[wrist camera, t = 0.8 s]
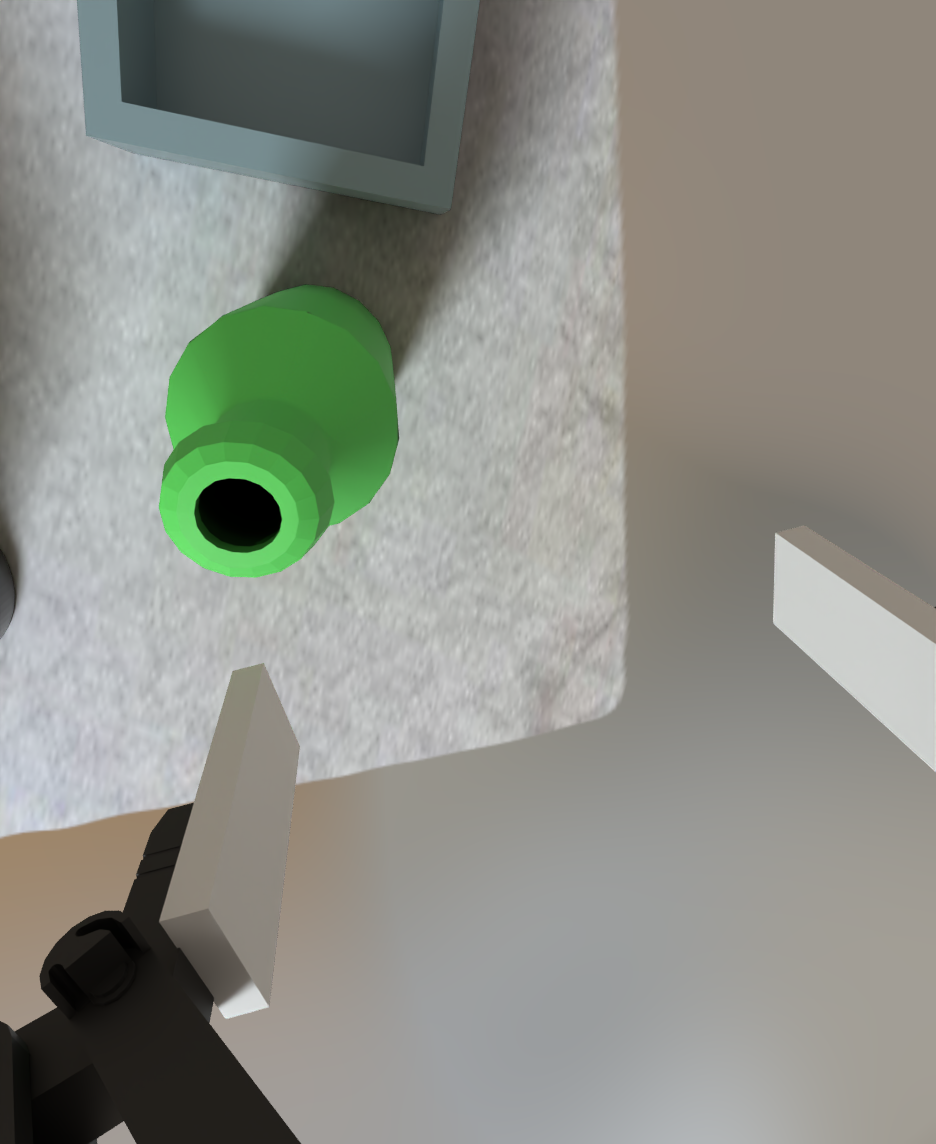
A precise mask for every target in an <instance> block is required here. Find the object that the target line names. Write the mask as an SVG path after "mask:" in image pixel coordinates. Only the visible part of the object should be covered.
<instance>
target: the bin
mask: <svg viewBox="0 0 936 1144" xmlns="http://www.w3.org/2000/svg"><path fill="white" fill-rule="evenodd" d="M479 3H480V0H77V8H78V23H79V37H80V52H81V67H82V81H83V96H84V111H85V125H86V136H89V137H91V138H94V139H97V140H99V141H102V142H105V143H107V144H110V145H113V146H115V147H118V148H121V149H123V150H126V151H129V152H131V153H135V154H140V155H145V156H150V157H155V158H160V159H165V160H170V161H175V162H180V163H185V164H190V165H195V166H200V167H205V168H210V169H215V170H220V171H225V172H230V173H235V174H240V175H245V176H250V177H255V178H260V179H265V180H270V181H275V182H280V183H285V184H290V185H295V186H300V187H305V188H310V189H315V190H320V191H325V192H330V193H335V194H340V195H345V196H350V197H355V198H360V199H365V200H370V201H375V202H380V203H385V204H390V205H395V206H400V207H405V208H410V209H415V210H420V211H425V212H430V213H435V214H440V215H441V214H443V213H445V212H447V211H449V210H451V205H452V198H453V190H454V183H455V176H456V169H457V162H458V154H459V147H460V140H461V133H462V126H463V119H464V111H465V104H466V97H467V90H468V83H469V75H470V68H471V61H472V54H473V47H474V39H475V32H476V25H477V18H478V11H479Z"/></svg>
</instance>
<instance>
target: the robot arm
mask: <svg viewBox="0 0 936 1144" xmlns="http://www.w3.org/2000/svg"><path fill="white" fill-rule="evenodd" d="M774 573H775V574H774V612H773V613H774V614H773V623H774V624H775V625H776V626H777V627H778V628H779V629H780V630H781V631H782V632H783V633H784V634H786V635H787V636H788V637H789V638H790V639H791V640H792V641H793V642H794V643H795V644H796V645H798V646H799V647H800V648H801V649H802V650H803V651H804V652H805V653H806V654H807V655H808V656H810V657H811V658H812V659H813V660H814V661H815V662H816V663H817V664H818V665H819V666H821V667H822V668H823V669H824V670H825V671H826V672H827V673H828V674H829V675H830V676H831V677H833V678H834V679H835V680H836V681H837V682H838V683H839V684H840V685H841V686H842V687H843V688H844V689H846V690H847V691H848V692H849V693H850V694H851V695H852V696H853V697H854V698H855V699H856V700H858V701H859V702H860V703H861V704H862V705H863V706H864V707H865V708H866V709H867V710H869V711H870V712H871V713H872V714H873V715H874V716H875V717H876V718H877V719H878V720H879V721H881V722H882V723H883V724H884V725H885V726H886V727H887V728H888V729H889V730H890V731H891V732H893V733H894V734H895V735H896V736H897V737H898V738H899V739H900V740H901V741H902V742H903V743H905V744H906V745H907V746H908V747H909V748H910V749H911V750H912V751H913V752H914V753H916V754H917V755H918V756H919V757H920V758H921V759H922V760H923V761H924V762H925V763H926V764H927V765H929V766H930V767H931V768H932V769H933V770H934V771H935V772H936V607H932V606H931V605H929V604H928V603H926V602H924V601H923V600H921V599H919V598H918V597H917V596H915V595H913V594H912V593H910V592H908V591H907V590H905V589H904V588H902V587H901V586H899V585H898V584H896V583H894V582H893V581H891V580H889V579H888V578H886V577H885V576H883V575H882V574H880V573H879V572H877V571H875V570H874V569H872V568H871V567H869V566H867V565H866V564H864V563H863V562H861V561H860V560H858V559H856V558H855V557H853V556H852V555H850V554H849V553H847V552H845V551H844V550H842V549H841V548H839V547H837V546H836V545H834V544H832V543H831V542H830V541H828V540H826V539H825V538H823V537H822V536H820V535H819V534H817V533H815V532H814V531H812V530H811V529H809V528H807V527H806V526H800V527H797V528H793V529H789V530H785V531H781V532H777V533H775V572H774ZM13 609H14V585H13V579H12V576H11V572H10V569H9V566H8V564H7V561H6V559H5V557H4V555H3V553H2V551H1V549H0V639H1V638H2V636H3V635H4V633H5V631H6V630H7V628H8V626H9V623H10V621H11V618H12V614H13ZM299 749H300V746H299V744H298V741H297V739H296V737H295V734H294V732H293V730H292V727H291V725H290V723H289V720H288V718H287V716H286V714H285V711H284V709H283V707H282V704H281V702H280V700H279V697H278V695H277V693H276V690H275V688H274V686H273V684H272V681H271V679H270V677H269V674H268V672H267V670H266V667H265V665H264V663H263V664H259V665H255V666H251V667H247V668H243V669H239V670H235V671H233V672H232V675H231V679H230V682H229V686H228V689H227V692H226V696H225V699H224V703H223V706H222V709H221V713H220V716H219V720H218V723H217V726H216V730H215V733H214V737H213V740H212V743H211V747H210V750H209V754H208V757H207V760H206V764H205V767H204V771H203V774H202V777H201V781H200V784H199V788H198V791H197V794H196V798H195V801H194V803H191V804H187V805H183V806H180V807H176V808H172V809H169V810H168V811H167V812H166V813H165V815H164V816H163V817H162V818H161V820H160V821H159V823H158V824H157V825H156V827H155V828H154V829H153V830H152V832H151V834H150V837H149V840H148V842H147V845H146V848H145V851H144V854H143V860H141V862H140V865H139V868H138V871H137V874H136V876H137V879H135V880H134V883H133V885H132V888H131V891H130V893H129V896H128V899H127V902H126V905H125V908H124V910H123V913H122V912H121V911H104V912H101V913H98V914H95V915H93V916H90V917H88V918H86V919H85V920H83V921H82V922H80V923H79V924H77V925H76V926H74V927H72V928H71V929H70V930H69V931H68V932H67V933H66V934H65V935H64V936H63V937H62V938H61V939H60V940H59V941H58V942H57V943H56V944H55V946H54V947H53V949H52V950H51V951H50V953H49V954H48V956H47V957H46V959H45V961H44V964H43V967H42V970H41V973H40V983H41V989H42V990H43V991H44V993H45V994H46V995H47V996H48V997H49V998H50V999H51V1000H52V1002H53V1003H54V1004H55V1005H56V1006H57V1008H55V1009H54V1010H52V1011H50V1012H49V1013H47V1014H45V1015H43V1016H41V1017H40V1018H38V1019H36V1020H34V1021H32V1022H31V1023H29V1024H27V1025H25V1026H24V1027H22V1028H20V1029H18V1030H17V1031H15V1032H14V1031H13V1030H12V1029H11V1028H10V1027H9V1026H8V1025H7V1024H5V1023H3V1022H1V1021H0V1144H97V1138H98V1137H99V1136H101V1135H103V1134H104V1133H106V1132H107V1131H109V1130H111V1129H112V1128H114V1127H115V1126H117V1125H118V1124H120V1123H121V1122H123V1121H124V1122H125V1123H126V1125H127V1127H128V1129H129V1130H130V1133H131V1134H132V1136H133V1138H134V1140H135V1142H136V1143H137V1144H301V1143H300V1142H299V1141H298V1140H297V1138H296V1137H295V1135H294V1134H293V1133H292V1131H291V1130H290V1129H289V1127H288V1126H287V1125H286V1123H285V1122H284V1121H283V1119H282V1118H281V1117H280V1116H279V1114H278V1113H277V1112H276V1110H275V1109H274V1108H273V1106H272V1105H271V1104H270V1103H269V1101H268V1100H267V1098H266V1097H265V1096H264V1095H263V1093H262V1092H261V1091H260V1089H259V1088H258V1087H257V1085H256V1084H255V1083H254V1082H253V1080H252V1079H251V1077H250V1076H249V1075H248V1074H247V1072H246V1071H245V1070H244V1068H243V1067H242V1066H241V1064H240V1063H239V1062H238V1060H237V1059H236V1058H235V1057H234V1055H233V1054H232V1053H231V1051H230V1050H229V1049H228V1047H227V1046H226V1045H225V1043H224V1042H223V1041H222V1040H221V1038H220V1037H219V1036H218V1034H217V1033H216V1032H215V1030H214V1029H213V1028H212V1026H211V1025H210V1024H209V1022H210V1017H211V1012H212V1006H213V1001H214V1002H215V1004H216V1005H217V1007H218V1008H219V1010H220V1011H221V1013H222V1014H223V1016H224V1017H225V1018H226V1019H228V1018H231V1017H235V1016H239V1015H242V1014H246V1013H249V1012H253V1011H257V1010H260V1009H264V1008H268V1007H269V1005H270V996H271V988H272V979H273V971H274V962H275V954H276V945H277V936H278V928H279V919H280V910H281V902H282V894H283V885H284V876H285V867H286V860H287V851H288V843H289V834H290V825H291V817H292V809H293V800H294V791H295V783H296V774H297V766H298V757H299Z"/></svg>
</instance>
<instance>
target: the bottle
mask: <svg viewBox="0 0 936 1144" xmlns="http://www.w3.org/2000/svg"><path fill="white" fill-rule="evenodd" d="M165 419H166V422H167V426H168V430H169V434H170V437H171V441H172V445H173V449H174V450H173V452H172V453H171V455H170V456H169V458H168V460H167V461H166V463H165V464H164V471H163V479H162V486H161V494H160V502H159V510H160V513H161V517H162V520H163V524H164V528H165V531H166V533H167V534H168V535H169V537H170V538H171V539H172V541H173V542H174V543H175V545H176V546H177V547H178V549H179V550H180V551H181V553H183V554H184V555H186V556H187V557H189V558H190V559H192V560H193V561H194V562H196V563H197V564H199V565H200V566H202V567H203V568H205V569H208V570H211V571H214V572H218V573H221V574H224V575H227V576H230V577H260V576H264V575H268V574H272V573H277V572H281V571H282V570H284V569H285V568H287V567H289V566H290V565H292V564H293V563H295V562H297V561H298V560H300V559H301V558H302V557H303V556H304V555H305V554H306V553H307V552H308V551H309V550H310V549H311V548H312V547H313V546H314V545H315V543H316V542H317V541H318V540H319V538H320V537H321V536H322V534H323V533H324V532H325V530H326V529H327V528H328V526H330V525H334V524H338V523H340V522H342V521H343V520H345V519H346V518H348V517H349V516H351V515H352V514H354V513H355V512H357V511H358V510H360V509H361V508H363V507H364V506H366V505H367V504H368V503H370V501H371V500H372V498H373V497H374V495H375V494H376V493H377V491H378V490H379V488H380V487H381V486H382V484H383V483H384V481H385V480H386V479H387V477H388V476H389V474H390V471H391V468H392V464H393V460H394V456H395V452H396V448H397V445H398V441H399V430H398V418H397V404H396V393H395V383H394V373H393V364H392V355H391V347H390V345H389V343H388V341H387V338H386V336H385V334H384V332H383V330H382V328H381V325H380V323H379V321H378V320H377V319H376V318H375V317H374V316H373V315H372V314H371V313H370V312H369V311H368V310H367V309H366V308H365V307H364V306H363V305H362V303H361V302H360V301H358V300H356V299H354V298H352V297H350V296H349V295H347V294H345V293H343V292H341V291H339V290H337V289H335V288H331V287H323V286H315V285H307V284H306V285H302V286H298V287H294V288H290V289H286V290H282V291H279V292H276V293H274V294H272V295H269V296H267V297H264V298H262V299H259V300H257V301H255V302H252V303H250V304H248V305H246V306H243V307H241V308H239V309H237V310H234V311H232V312H230V313H227V314H225V315H223V316H222V317H221V318H219V319H218V320H217V321H216V322H215V323H213V324H212V325H211V326H210V327H208V328H207V329H206V330H204V331H203V332H202V333H201V334H199V335H198V336H197V337H195V338H194V339H193V340H191V341H190V342H189V344H188V345H187V347H186V349H185V351H184V353H183V354H182V356H181V358H180V360H179V362H178V363H177V365H176V367H175V369H174V371H173V372H172V374H171V376H170V379H169V388H168V397H167V406H166V415H165Z"/></svg>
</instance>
